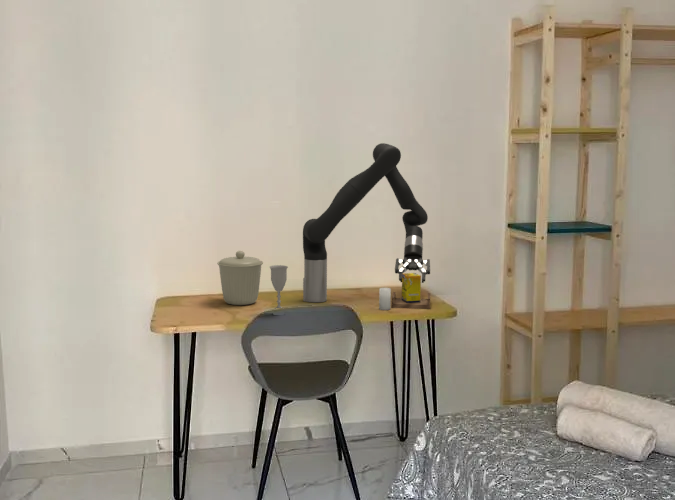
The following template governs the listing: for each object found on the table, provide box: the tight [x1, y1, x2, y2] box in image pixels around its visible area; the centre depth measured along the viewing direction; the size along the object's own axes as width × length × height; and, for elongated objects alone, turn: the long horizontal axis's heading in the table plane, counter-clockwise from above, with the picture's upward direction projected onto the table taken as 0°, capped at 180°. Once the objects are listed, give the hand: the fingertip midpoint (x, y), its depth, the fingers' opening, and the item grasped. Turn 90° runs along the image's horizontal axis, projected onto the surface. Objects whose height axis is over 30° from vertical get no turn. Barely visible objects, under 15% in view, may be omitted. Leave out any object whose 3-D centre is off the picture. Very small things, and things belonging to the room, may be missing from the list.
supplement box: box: [401, 272, 422, 303], centre depth 302 cm, size 6×6×11 cm
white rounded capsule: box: [378, 287, 392, 311], centre depth 295 cm, size 4×4×8 cm
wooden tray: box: [391, 291, 431, 310], centre depth 302 cm, size 15×11×4 cm
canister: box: [217, 250, 264, 306], centre depth 303 cm, size 18×18×21 cm
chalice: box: [269, 264, 289, 309], centre depth 285 cm, size 7×7×18 cm
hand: (412, 281), depth 304 cm, fingers open, 8 cm apart
